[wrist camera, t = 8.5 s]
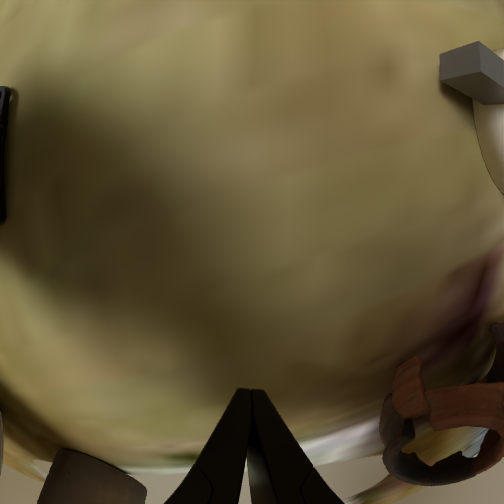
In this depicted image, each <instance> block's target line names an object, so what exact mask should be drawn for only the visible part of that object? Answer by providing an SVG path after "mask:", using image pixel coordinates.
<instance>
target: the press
mask: <svg viewBox="0 0 504 504" xmlns="http://www.w3.org/2000/svg"><path fill="white" fill-rule="evenodd" d="M440 81H441V82H443V83H445V84H447V85H449V86H451V87H453V88H455V89H457V90H458V91H460V92H462V93H464V94H466V95H467V96H469V97H471V98H472V99H473V111H474V120H475V126H476V131H477V136H478V141H479V144H480V148H481V152H482V155H483V158H484V161H485V163H486V166H487V168H488V171H489V173H490V175H491V177H492V179H493V181H494V182H495V184H496V186H497V187H498V188H499V190H500V191H501V192H502V193H503V194H504V48H501V49H497V50H493V51H491V50H490V49H489V48H487V47H486V46H485V45H483V44H482V43H480V42H479V41H477V42H474V43H471V44H468V45H465V46H462V47H459V48H456V49H453V50H450V51H447V52H445V53H442V54H440Z"/></svg>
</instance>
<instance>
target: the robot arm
mask: <svg viewBox="0 0 504 504" xmlns="http://www.w3.org/2000/svg"><path fill="white" fill-rule="evenodd" d="M9 99H10V88H9V87H6V86H0V225H2V224H3V223H4V222H5V219H6V212H5V197H4V148H5V133H6V122H7V113H8V106H9ZM246 458H247V467H248V476H249V485H250V494H251V502H252V504H345V503H344V502H343V501H342V500H341V499H340V498H339V497H338V496H337V495H336V494H335V493H334V492H333V491H332V490H331V489H330V487H329V486H328V485H327V484H326V482H325V481H324V480H323V478H322V477H321V476H320V475H319V473H318V472H317V470H316V469H315V468H314V467H313V464H312V463H311V462H310V460H309V459H308V457H307V456H306V454H305V453H304V451H303V450H302V448H301V447H300V445H299V444H298V442H297V441H296V439H295V438H294V436H293V435H292V433H291V432H290V430H289V429H288V427H287V426H286V424H285V422H284V421H283V419H282V418H281V416H280V415H279V413H278V411H277V410H276V408H275V407H274V405H273V404H272V402H271V400H270V399H269V397H268V395H267V394H266V392H265V391H264V390H263V389H251V390H250V389H249V388H238V389H237V390H236V392H235V394H234V395H233V397H232V399H231V401H230V403H229V404H228V406H227V408H226V410H225V412H224V413H223V415H222V417H221V419H220V420H219V422H218V424H217V426H216V427H215V429H214V431H213V433H212V434H211V436H210V438H209V440H208V441H207V443H206V445H205V446H204V448H203V450H202V451H201V453H200V455H199V456H198V458H197V460H196V461H195V464H193V466H192V468H191V469H190V471H189V472H188V474H187V476H186V477H185V478H184V480H183V481H182V483H181V484H180V485H179V487H178V488H177V489H176V490H175V491H174V493H173V494H172V495H171V496H170V497H169V498H168V499H167V501H166V502H165V503H164V504H238V502H239V496H240V491H241V486H242V479H243V474H244V468H245V462H246Z"/></svg>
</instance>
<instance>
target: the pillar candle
mask: <svg viewBox="0 0 504 504" xmlns="http://www.w3.org/2000/svg"><path fill="white" fill-rule="evenodd" d="M146 496H147V489H146V487H145V486H143V485H142V484H141V483H140V482H138V481H137V480H135V479H134V478H133V477H131V476H129V475H127V474H125V473H123V472H121V471H119V470H117V469H115V468H113V467H112V466H110V465H108V464H106V463H104V462H102V461H99V460H97V459H95V458H93V457H89V456H87V455H86V454H82V453H78V452H75V451H69V450H65V449H60V451H59V452H57V454H56V456H55V458H54V461H53V464H52V466H51V468H50V471H49V474H48V475H47V478H46V480H45V483H44V486H43V488H42V490H41V493H40V496H39V499H38V501H37V504H145V499H146Z"/></svg>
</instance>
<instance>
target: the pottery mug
mask: <svg viewBox="0 0 504 504" xmlns="http://www.w3.org/2000/svg"><path fill="white" fill-rule="evenodd" d="M490 331H491V333H492V334H493V335H494V338H495V342H496V355H495V359H494V362H493V365H492V367H491V369H490V371H489V372H488V374H487V375H486V376H485V377H484V378H483V379H481V380H480V381H479V382H478V383H474V384H471V385H463V386H460V385H457V386H444V387H438V388H434V389H429V390H426V388H425V385H424V382H423V379H422V360H421V359H420V358H419V357H417V356H414V357H412V358H410V359H409V360H407V361H406V362H404V363H402V364H401V365H400V366H399V367H398V368H397V370H396V373H395V378H394V379H393V381H392V387H393V391H392V393H389V394H388V395H387V396H386V398H385V400H384V404H383V408H382V412H381V417H380V423H379V432H380V437H381V440H382V442H383V444H384V445H385V447H386V448H385V450H384V452H383V458H382V459H383V463H384V465H386V469H387V470H388V472H389V473H390V474H392V475H393V476H394V477H395V478H397V479H399V480H402V481H404V482H406V483H411V484H415V485H422V486H438V485H447V484H452V483H456V482H460V481H463V480H466V479H469V478H472V477H474V476H476V475H477V474H479V473H481V472H483V471H486V470H487V469H489V468H491V467H492V466H494V465H495V464H496V463H497V462H499V461H500V460H501V459H502V457H504V323H493V324H491V326H490ZM425 414H430V415H429V423H430V425H431V427H432V428H433V430H435V431H439V430H444V429H450V428H457V427H463V426H474V427H484V428H488V429H489V430H488V432H487V433H486V435H485V437H484V440H483V443H482V444H481V446H480V452H479V453H478V455H477V456H476V457H473V458H467V457H465V456H462V451H458V452H456V453H454V454H452V455H450V456H448V457H447V458H445V459H442V460H440V461H438V462H436V463H435V464H434V465H433V466H428V465H427V464H425V463H424V462H422V461H421V460H420V459H419V458H418V457H417V455H416V453H415V452H412V453H410V454H406V453H403V452H401V450H402V449H403V448H404V447H405V446H406V445H407V444H408V443H410V442H411V441H413V440H414V438H415V430H414V426H413V420H414V419H417V418H419V417H421V416H422V415H425Z"/></svg>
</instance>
